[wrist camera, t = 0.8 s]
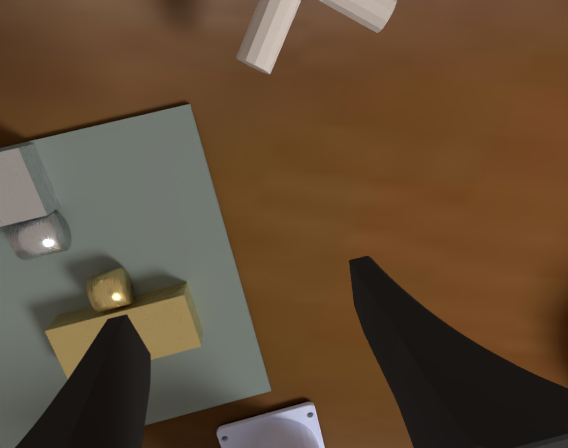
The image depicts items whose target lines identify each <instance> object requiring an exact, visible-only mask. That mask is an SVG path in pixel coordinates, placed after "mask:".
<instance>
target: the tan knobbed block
mask: <svg viewBox="0 0 568 448" xmlns="http://www.w3.org/2000/svg"><path fill="white" fill-rule="evenodd" d="M87 294H88V298H89V301H90V303H91V305H92V306H91V307H87V308H83V309H79V310H75V311H71V312H67V313H63V314H60V315H57V316H56V317H55V319H54V320H53V321H52V322H51V324H50V325H49V326H48V328H47V329H46V330H45V333H46V335H47V337H48V339H49V341H50V343H51V345H52V348H53V350H54V352H55V354H56V356H57V358H58V360H59V362H60V364H61V366H62V368H63V371H64V373H65V375H66V377H67V379H69V377H70V376H71V374H72V373H73V371H74V370H75V368H76V367H77V365H78V364H79V362H80V361H81V359H82V358H83V356H84V355H85V353H86V351H87V350H88V348H89V347H90V345H91V344H92V342H93V341H94V339H95V338H96V336H97V334H98V333H99V331H100V330H101V328H102V327H103V325H104V324H105V322H106V321H107V319H109V318H113V317H117V316H121V315H125V314H127V315H128V317H129V319H130V320H131V322H132V324H133V325H134V327H135V329H136V330H137V332H138V334H139V335H140V337H141V339H142V340H143V342H144V344H145V346H146V347H147V349H148V351H149V352H150V354H151V360H152V359H156V358H160V357H164V356H167V355H171V354H175V353H179V352H182V351H186V350H190V349H194V348H197V347H201V346H202V337H203V328H202V325H201V322H200V319H199V316H198V313H197V310H196V307H195V304H194V301H193V298H192V295H191V292H190V289H189V286H188V283H187V282H184V283H180V284H176V285H173V286H169V287H165V288H161V289H157V290H153V291H149V292H145V293H141V294H137V295H134V288H133V283H132V280H131V277H130V275H129V273H128V271H127V270H126V269H125V268H119V269H115V270H111V271H108V272H104V273H100V274H96V275H92V276H90V277H89V278H88V281H87Z"/></svg>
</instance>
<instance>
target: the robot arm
mask: <svg viewBox="0 0 568 448" xmlns="http://www.w3.org/2000/svg"><path fill="white" fill-rule="evenodd" d="M349 264H350V273H351V282H352V291H353V300H354V306H355V309H356V312H357V315H358V317H359V320H360V323H361V326H362V329H363V332H364V334H365V336H366V338H367V340H368V342H369V345H370V347H371V349H372V351H373V353H374V355H375V357H376V359H377V361H378V363H379V365H380V367H381V370H382V372H383V374H384V376H385V378H386V380H387V382H388V384H389V386H390V388H391V390H392V392H393V395H394V397H395V399H396V401H397V404H398V406H399V409H400V411H401V414H402V417H403V419H404V422H405V425H406V427H407V430H408V433H409V436H410V438H411V441H412V444H413V447H414V448H568V388H565V387H563V386H561V385H558V384H556V383H553V382H551V381H549V380H546V379H544V378H542V377H539V376H537V375H535V374H533V373H531V372H529V371H527V370H525V369H523V368H521V367H519V366H517V365H515V364H513V363H511V362H509V361H507V360H506V359H504V358H502V357H500V356H498V355H496V354H495V353H493V352H491V351H489V350H487V349H485V348H484V347H482V346H480V345H479V344H477V343H475V342H474V341H472V340H471V339H469V338H467V337H466V336H464V335H463V334H461V333H460V332H458V331H457V330H455V329H454V328H452V327H451V326H449V325H448V324H446V323H445V322H444V321H442V320H441V319H439V318H438V317H437V316H435V315H434V314H433V313H431V312H430V311H429V310H428V309H426V308H425V307H424V306H422V305H421V304H420V303H419V302H418V301H416V300H415V299H414V298H413V297H412V296H410V295H409V294H408V293H407V292H406V291H405V290H404V289H402V288H401V287H400V286H399V285H398V284H397V283H396V282H395V281H394V280H393V279H392V278H390V277H389V276H388V275H387V274H386V273H385V272H384V271H383V270H382V269H381V268H380V267H379V266H378V265H377V264H376V263H375V261H374V260H373V259H372V258H371V257H369V256H365V257H361V258H356V259H352V260H349ZM150 379H151V354H150V352H149V351H148V349H147V347H146V346H145V344H144V342H143V340H142V339H141V337H140V335H139V334H138V332H137V330H136V329H135V327H134V325H133V324H132V322H131V320H130V319H129V317H128V315H127V314H125V315H121V316H117V317H113V318H109V319H107V321H106V322H105V324H104V325H103V327H102V328H101V330H100V331H99V333H98V334H97V336H96V338H95V339H94V341H93V342H92V344H91V345H90V347H89V348H88V350H87V351H86V353H85V355H84V356H83V358H82V359H81V361H80V362H79V364H78V365H77V367H76V368H75V370H74V371H73V373H72V374H71V376H70V377H69V379H68V380H67V381H66V383H65V384H64V386H63V387H62V388H61V390H60V391H59V392H58V394H57V395H56V397H55V398H54V399H53V401H52V402H51V403H50V405H49V406H48V408H47V409H46V410H45V412H44V413H43V414H42V416H41V417H40V418H39V419H38V421H37V422H36V423H35V424H34V426H33V427H32V428H31V429H30V430H29V432H28V433H27V434H26V435H25V436H24V438H23V439H22V440H21V441H20V442H19V444H18V445H17V446H16V447H15V448H141V447H142V440H143V434H144V427H145V420H146V413H147V406H148V399H149V392H150ZM309 412H312V413H311V414H308V413H309ZM223 436H227V437H223ZM217 437H218V440H219V443H220V445H221V448H325V447H324V443H323V439H322V435H321V430H320V426H319V422H318V418H317V414H316V410H315V406H314V404H313V403H312V402H305V403H302V404H298V405H295V406H291V407H287V408H284V409H280V410H277V411H273V412H269V413H266V414H262V415H258V416H255V417H251V418H248V419H244V420H240V421H237V422H233V423H230V424H226V425H222V426H220V427H219V428H218V429H217Z"/></svg>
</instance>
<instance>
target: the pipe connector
mask: <svg viewBox="0 0 568 448" xmlns="http://www.w3.org/2000/svg"><path fill="white" fill-rule="evenodd" d="M319 1H321V2H322V3H324V4H326V5H328V6H330V7H331V8H333V9H335V10H337V11H339V12H340V13H342V14H344V15H346V16H348V17H349V18H351V19H353V20H355V21H357V22H358V23H360V24H362V25H364V26H366V27H367V28H369V29H371V30H373V31H375V32H376V33H378V32H379V31H381V30H382V28H383V27H384V26H385V24H386V23H387V22H388V20H389V18H390V16H391V14H392V12H393V10H394V8H395V5H396V2H397V0H319ZM300 2H301V0H259V2H258V4H257V7H256V9H255V12H254V14H253V17H252V19H251V22H250V24H249V27H248V29H247V32H246V34H245V37H244V39H243V42H242V44H241V47H240V49H239V52H238V55H237V57H236V58H237V59H238V60H240V61H241V62H243V63H245V64H247V65H249V66H251V67H253V68H255V69H257V70H259V71H261V72H264V73H266V74H270V73H271V71H272V69H273V66H274V64H275V61H276V59H277V57H278V54H279V52H280V50H281V47H282V45H283V42H284V40H285V38H286V35H287V33H288V30H289V28H290V26H291V23H292V21H293V19H294V16H295V14H296V11H297V9H298V7H299V4H300Z"/></svg>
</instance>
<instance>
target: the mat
mask: <svg viewBox="0 0 568 448" xmlns="http://www.w3.org/2000/svg"><path fill="white" fill-rule="evenodd" d="M31 144H35V146H36V149H37V151H38V154H39V156H40V158H41V161H42V163H43V166H44V168H45V170H46V173H47V175H48V178H49V180H50V182H51V185H52V187H53V190H54V192H55V194H56V197H57V199H58V202H59V204H60V206H61V207H59V208H58V209H56V210H55V211H53V212H52V213H59V214H61V215H62V216H63V217H64V218H65V220H66V222H67V224H68V226H69V228H70V232H71V239H72V240H71V246H70V248H69V249H68V250H67V251H63V252H59V253H55V254H51V255H47V256H43V257H39V258H35V259H30V260H22V259H20V258H19V257H18V256H17V255H16V254H15V253H14V251H13V249H12V247H11V245H10V241H9V228H10V226H11V225H12V224H10V225H6V226H2V227H0V448H15V447H16V446H17V445H18V444H19V442H20V441H21V440H22V439H23V438H24V436H25V435H26V434H27V433H28V432H29V430H30V429H31V428H32V427H33V426H34V424H35V423H36V422H37V421H38V419H39V418H40V417H41V416H42V414H43V413H44V412H45V410H46V409H47V408H48V406H49V405H50V403H51V402H52V401H53V399H54V398H55V397H56V395H57V394H58V392H59V391H60V390H61V388H62V387H63V386H64V384H65V383H66V381H67V380H68V379H67V377H66V375H65V373H64V371H63V368H62V366H61V364H60V362H59V360H58V358H57V356H56V354H55V352H54V350H53V348H52V345H51V343H50V341H49V339H48V337H47V335H46V333H45V330H46V329H47V328H48V326H49V325H50V324H51V322H52V321H53V320H54V319H55V317H56V316H57V315H60V314H63V313H67V312H71V311H75V310H79V309H83V308H87V307H91V306H92V305H91V303H90V301H89V298H88V294H87V281H88V278H89V277H90V276H92V275H96V274H100V273H104V272H108V271H111V270H115V269H119V268H125V269H126V270H127V271H128V273H129V275H130V277H131V280H132V283H133V288H134V295H137V294H141V293H145V292H149V291H153V290H157V289H161V288H165V287H169V286H173V285H176V284H180V283H184V282H187V283H188V286H189V289H190V292H191V295H192V298H193V301H194V304H195V307H196V310H197V313H198V316H199V319H200V322H201V325H202V328H203V337H202V346H201V347H197V348H194V349H190V350H186V351H182V352H179V353H175V354H171V355H167V356H164V357H160V358H156V359H152V360H151V379H150V392H149V399H148V406H147V413H146V420H145V425H149V424H153V423H156V422H160V421H163V420H167V419H171V418H174V417H178V416H182V415H185V414H189V413H193V412H196V411H200V410H204V409H207V408H211V407H215V406H218V405H222V404H225V403H229V402H233V401H236V400H240V399H244V398H247V397H251V396H255V395H258V394H262V393H266V392H269V391H271V388H270V384H269V380H268V377H267V373H266V370H265V366H264V363H263V359H262V356H261V352H260V349H259V345H258V342H257V338H256V335H255V331H254V328H253V324H252V321H251V317H250V313H249V310H248V306H247V303H246V299H245V296H244V292H243V289H242V285H241V282H240V278H239V275H238V271H237V268H236V264H235V261H234V257H233V254H232V250H231V246H230V243H229V239H228V236H227V232H226V229H225V225H224V222H223V218H222V215H221V211H220V208H219V204H218V201H217V197H216V194H215V190H214V187H213V183H212V179H211V176H210V172H209V169H208V165H207V162H206V158H205V155H204V151H203V148H202V144H201V141H200V137H199V134H198V130H197V127H196V123H195V119H194V116H193V112H192V109H191V105H190V104H187V105H183V106H179V107H174V108H170V109H166V110H162V111H157V112H153V113H149V114H144V115H140V116H136V117H131V118H127V119H123V120H119V121H114V122H110V123H106V124H101V125H97V126H93V127H89V128H84V129H80V130H76V131H71V132H67V133H63V134H58V135H54V136H50V137H46V138H41V139H37V140H33V141H28V142H24V143H20V144H16V145H11V146H7V147H3V148H0V152H1V151H5V150H10V149H14V148H18V147H23V146H27V145H31ZM50 214H51V213H50Z"/></svg>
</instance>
